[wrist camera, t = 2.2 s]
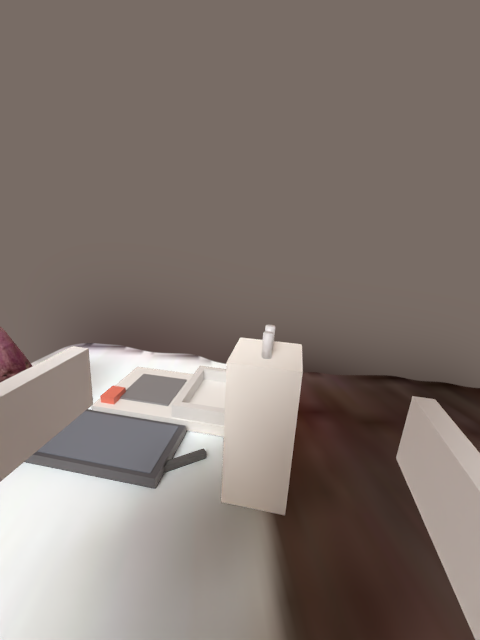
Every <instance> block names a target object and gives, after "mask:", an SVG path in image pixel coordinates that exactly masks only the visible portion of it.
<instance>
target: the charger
mask: <svg viewBox="0 0 480 640" xmlns="http://www.w3.org/2000/svg"><path fill="white" fill-rule="evenodd" d="M274 334H275V326H274V325H266V328H265V332H263V340H257V339H248V338H240V339H239V341H238V343H237V344H236V347H235V348H234V350H233V352H232V354H231V355H230V357H229V359H228V361H227V366H226V391H225V415H224V440H223V465H222V490H221V502H222V503H227V504H232V505H236V506H241V507H246V508H251V509H256V510H261V511H266V512H271V513H276V514H281V515H285V512H286V504H287V496H288V488H289V480H290V471H291V463H292V455H293V447H294V439H295V430H296V422H297V414H298V406H299V398H300V390H301V381H302V373H303V371H302V370H303V369H302V345H301V344H293V343H284V342H275V341H274Z"/></svg>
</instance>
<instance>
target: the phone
mask: <svg viewBox="0 0 480 640" xmlns="http://www.w3.org/2000/svg"><path fill="white" fill-rule="evenodd" d="M185 434H186V426H185V425H179V424H173V423H167V422H160V421H154V420H148V419H142V418H136V417H130V416H124V415H118V414H112V413H106V412H100V411H94V410H88V409H87V410H85V411H84V412H83V413H82V414H81V415H79V416H78V417H77V418H76V419H75V420H73V421H72V422H71V423H70V424H69V425H68V426H66V427H65V428H64V429H63V430H62V431H60V432H59V433H58V434H57V435H56V436H54V437H53V438H52V439H51V440H50V441H48V442H47V443H46V444H45V445H44V446H42V447H41V448H40V449H39V450H38V451H36V452H35V453H34V454H33V455H32V456H30V457H29V458H28V459H27V460H26V461H24V462H27V463H32V464H37V465H42V466H47V467H51V468H56V469H61V470H66V471H71V472H76V473H81V474H86V475H91V476H96V477H101V478H106V479H110V480H115V481H120V482H125V483H130V484H135V485H140V486H145V487H150V488H156V486H157V485H158V483H159V481H160V479H161V477H162V476H163V474H164V466H165V464H166V463H167V461H168V460H171V459H172V458H173V456H174V454H175V452H176V450H177V449H178V447H179V445H180V443H181V441H182V440H183V438H184V436H185Z"/></svg>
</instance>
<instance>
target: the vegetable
mask: <svg viewBox="0 0 480 640" xmlns="http://www.w3.org/2000/svg"><path fill="white" fill-rule="evenodd" d="M30 367H32V365H31V364H30V362H29V361H28V359H27V358H26V357H25V356H24V354H23V353H22V352H21V351H20V349H19V348H18V347H17V345H16V344H15V343H14V342H13V341H12V339H11V338H10V337H9V336H8V334H7V333H6V332H5V331H4V330H3V329H2V328H1V327H0V382H2V381H4V380H6V379H8V378H10V377H12V376H14V375H16V374H18V373H20V372H22V371H24V370H26V369H28V368H30Z"/></svg>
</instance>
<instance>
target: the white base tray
mask: <svg viewBox="0 0 480 640" xmlns="http://www.w3.org/2000/svg"><path fill="white" fill-rule="evenodd" d="M225 391H226V369H221V368H213V367H205V366H199V368H198V369H197V371H196V372H195V373H194V374H188V373H180V372H173V371H165V370H158V369H151V368H143V367H137V368H135V369H134V370H133V371H132V372H131V373H130V374H128V375H127V376H126V377H125V378H124V379H122V380H121V381H120V382H119V383H118V384H116V385H115V386H112V387H111V388H110V389H108V390H107V391H106V392H105V393H104V394H102V395H101V396H100V397H101V398H100V399H99V400H98V401H96V402H95V403H94V404H93V405H92V410H94V411H100V412H106V413H112V414H118V415H124V416H130V417H136V418H142V419H148V420H154V421H160V422H167V423H173V424H179V425H185V426H186V431H191V432H197V433H203V434H209V435H215V436H221V437H224V415H225Z"/></svg>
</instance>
